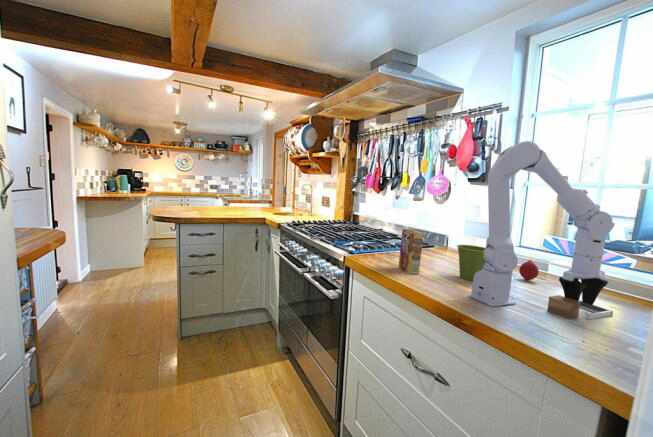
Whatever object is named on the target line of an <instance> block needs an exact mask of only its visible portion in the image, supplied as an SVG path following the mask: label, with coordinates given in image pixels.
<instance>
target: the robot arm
mask: <svg viewBox="0 0 653 437" xmlns="http://www.w3.org/2000/svg"><path fill="white" fill-rule="evenodd" d="M521 170H522V171H525V172H530V173H535V174H537V175H538V177H539V178H540V179H542V181H544V183H546V184H547V186H549V187H550V188H551V189H552V190H553V191H554V192H555V193H556V194H557V197H556V202H558V204H559V205H560V206H561V207H562V208H563V209H564V211H565V212H567V213H568V215H569V216H570V217H571V218H572V220H573V222H572V223H573V226H575V227H576V228H577V232H576V238H575V243H574V249H573V256H572V260H571V266H570V267H571V268H569V269H568V270H567V271H563V274H562V276H559V278H558V281H559V283H560V285H561V287H562V290H563V295H564V297H567V298H569V299H572V300H575V301H578V302H579V300H580V298H581V301H582V302H583V303H586V304H589V305H595V304H594V303H595V302H596V299H597V297H598V296H599V294H600V293H601V291H602V290H603V288H605V287H606V286H607V285H608V284H609V281H608V280H605V277H606V276H605V273H606V271H604V270H601V267H602V262H603V255H604V250H605V245H606V240H607V236H608V233H610V232H611V231H612V230H613V229H614V228H615V223H614V222H613V218H612V216H611V214H610V213H608V212H606V211H602V210H601V206H600V204H596V203H595V202H594V201H593V199H591V198H590V197H589V196H588V195H587V194H589V192H588V191H587V189H585V188H584V189H582V188H581V187H579V186H572V185H571V184H570V183H569V182H568V181H567V180H566V178H565V177H564V176H563V174H562V173H561V172H560V171H559V170H558V168H557V167H556V166H555V164H553V162H552V161H551V160H550V159H549V157H548V155H547V153H546V152H545V151H544V150H543V149H540V146H539V145H538V144H537V143H535V142H533V141H529V140H525V141H521V142H519V143H518V144H516V145H511V146H508V147H507V148H505V149H504V150H503V151H502V152H500V153H499V154H498V155H497V159H496V160H495V162H494V163H493V165H492V167H491V168H490V169H489V171H488V174H487V193H488V194H487V195H488V196H487V197H488V199H487V200H488V203H487V204H488V208H487V209H488V236H487V238H486V241H485V247H484V248H485V249H484V251H483V257H484V259H485V261H486V263H485V264H484V266H483V269H482V270H481V271H478V272H476V273H475V275H474V278H473V281H472V286H471V293H469V294H468V297H470V298H472V299H475V300H477V301H480V302H481V303H483V304H486V305H488V306H490V307H499V306H507V305H515V304H517V303H516V302H517V301H514V300H513V299H510V294H511V293H510V292H511V287H512V278H513V272H514V270H515V269H516V267H518V264H519V263H518V262H519V260H518V256H517V254H516V253H515V250H514V247H515V246H514V243H513V241H512V237H511V211H510V210H511V208H510V207H511V203H510V202H511V201H510V200H511V199H510V198H511V197H510V196H511V195H510V179H511V178H513V177H514V176H515V175H516V174H517V173H519V172H520V171H521Z"/></svg>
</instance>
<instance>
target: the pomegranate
mask: <svg viewBox="0 0 653 437" xmlns="http://www.w3.org/2000/svg"><path fill="white" fill-rule="evenodd" d="M518 269H519V274H520V276H521V277H522V279H524V280H525V281H526V282H529V281H532V280H534V279H535V278H537V277H538V275H539V268H538V266H537V264H535V263H534V262H533V260H532V259H531V258H529V259H528V260H527V261H526V262H524V263H522V264H521V265H520V266H519V268H518Z"/></svg>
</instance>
